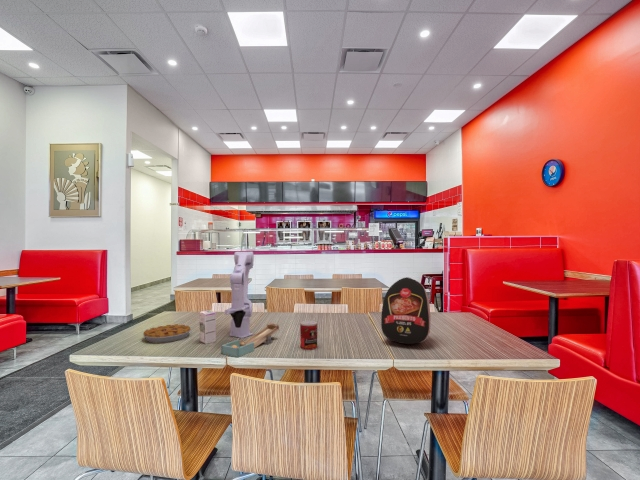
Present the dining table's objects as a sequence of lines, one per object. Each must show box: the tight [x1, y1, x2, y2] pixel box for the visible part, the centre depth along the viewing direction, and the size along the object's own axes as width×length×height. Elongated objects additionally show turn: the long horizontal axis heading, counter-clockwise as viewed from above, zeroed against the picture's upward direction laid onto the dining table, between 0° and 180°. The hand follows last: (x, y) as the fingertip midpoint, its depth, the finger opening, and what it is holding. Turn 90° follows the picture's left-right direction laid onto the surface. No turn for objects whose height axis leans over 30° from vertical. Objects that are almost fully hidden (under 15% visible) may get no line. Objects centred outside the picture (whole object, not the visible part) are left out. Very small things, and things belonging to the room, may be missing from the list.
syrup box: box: [199, 309, 217, 345], centre depth 154 cm, size 6×6×14 cm
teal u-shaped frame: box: [220, 339, 255, 358], centre depth 138 cm, size 10×10×4 cm
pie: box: [142, 323, 192, 344], centre depth 162 cm, size 22×22×5 cm
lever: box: [233, 322, 280, 349], centre depth 154 cm, size 14×18×3 cm
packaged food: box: [380, 276, 431, 345], centre depth 150 cm, size 22×20×30 cm
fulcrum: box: [253, 333, 273, 346], centre depth 152 cm, size 9×4×3 cm, turn 59°
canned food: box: [299, 320, 318, 351], centre depth 145 cm, size 8×8×11 cm
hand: (238, 327), depth 150 cm, fingers closed
